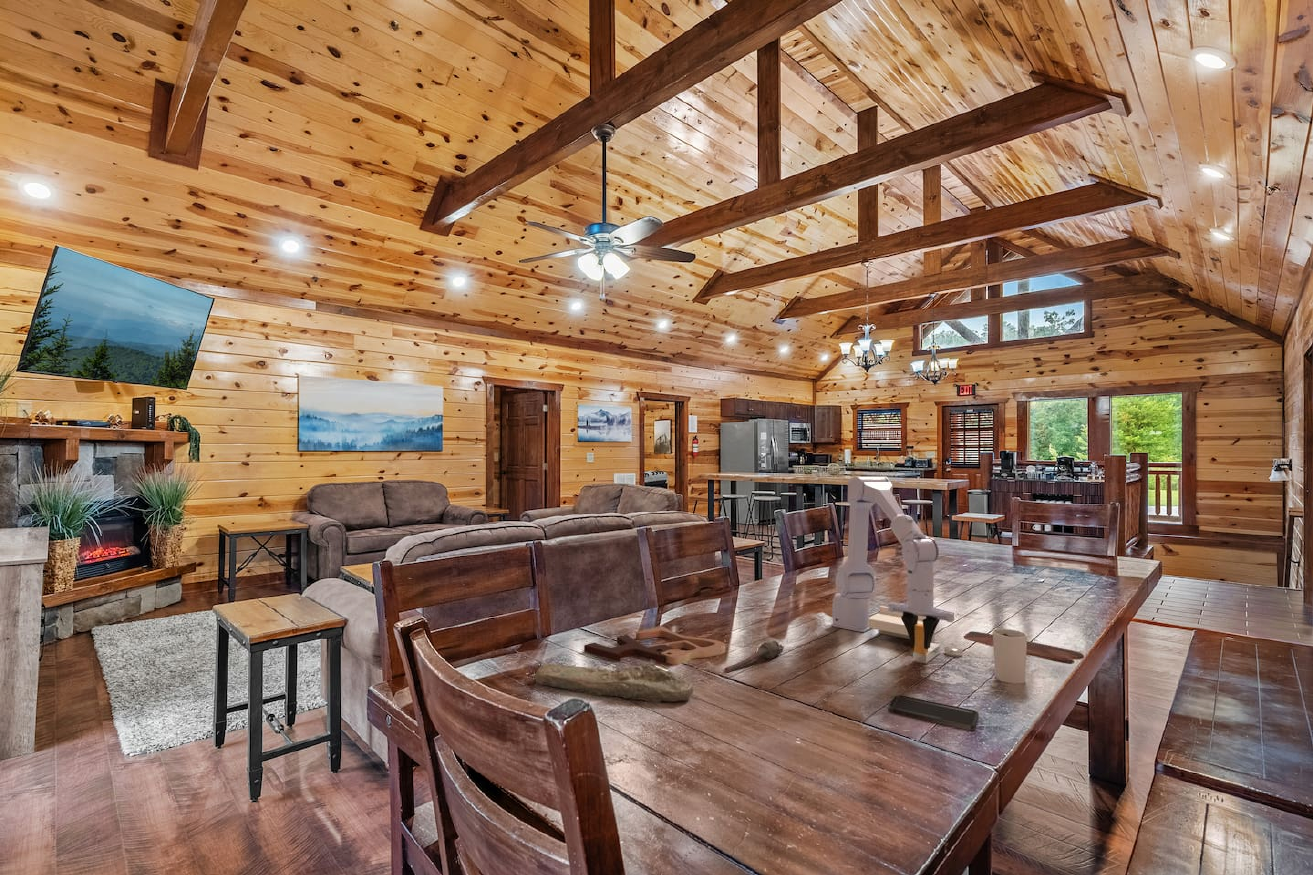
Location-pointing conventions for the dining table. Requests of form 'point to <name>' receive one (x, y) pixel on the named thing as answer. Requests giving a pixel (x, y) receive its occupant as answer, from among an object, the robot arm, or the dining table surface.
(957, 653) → the disc
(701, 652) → the wood carving
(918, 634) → the blade tool
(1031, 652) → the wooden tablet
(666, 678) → the elongated rock
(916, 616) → the robot arm
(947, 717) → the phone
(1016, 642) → the white cup
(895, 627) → the cream shelf
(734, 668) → the natural artifact
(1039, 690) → the dining table surface
